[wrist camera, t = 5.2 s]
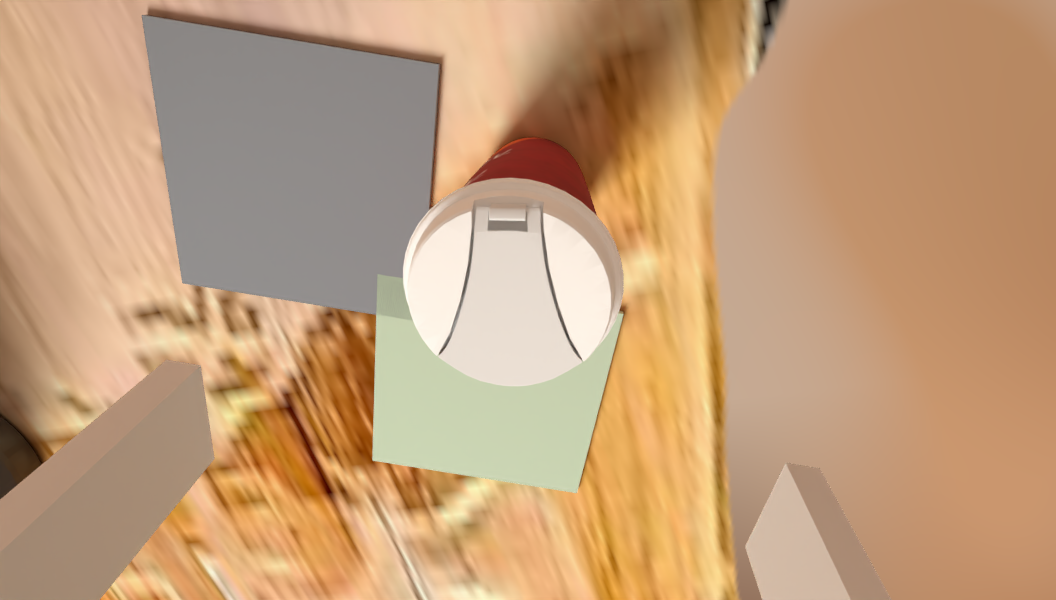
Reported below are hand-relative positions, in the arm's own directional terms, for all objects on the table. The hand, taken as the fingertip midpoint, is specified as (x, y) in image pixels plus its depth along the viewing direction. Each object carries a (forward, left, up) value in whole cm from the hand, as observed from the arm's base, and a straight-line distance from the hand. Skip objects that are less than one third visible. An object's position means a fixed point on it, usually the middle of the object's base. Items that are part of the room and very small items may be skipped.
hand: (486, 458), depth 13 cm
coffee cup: (0, 0, -23) cm, 23 cm away
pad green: (-1, -15, -23) cm, 27 cm away
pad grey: (-14, -2, -23) cm, 27 cm away
